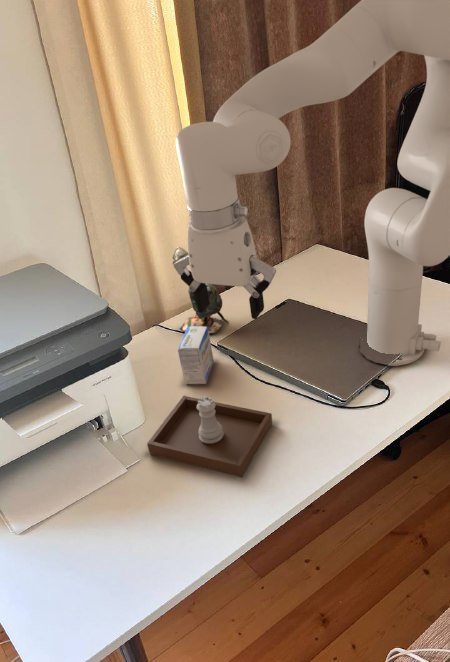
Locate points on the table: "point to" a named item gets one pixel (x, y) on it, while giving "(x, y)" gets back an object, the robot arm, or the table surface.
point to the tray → (224, 456)
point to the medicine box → (196, 355)
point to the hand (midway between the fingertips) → (230, 311)
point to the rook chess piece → (209, 422)
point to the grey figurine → (213, 308)
